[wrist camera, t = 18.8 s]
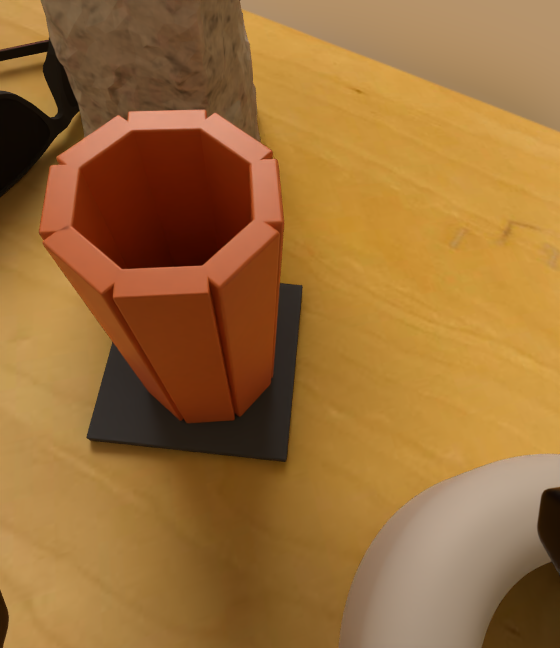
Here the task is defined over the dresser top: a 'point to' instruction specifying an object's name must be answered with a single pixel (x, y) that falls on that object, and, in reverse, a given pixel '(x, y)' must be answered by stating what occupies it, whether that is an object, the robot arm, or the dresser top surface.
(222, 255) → the octagonal orange vase
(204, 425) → the felt mat
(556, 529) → the robot arm
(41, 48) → the sunglasses
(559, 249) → the dresser top surface
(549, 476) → the fat ring
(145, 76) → the decorative stone
